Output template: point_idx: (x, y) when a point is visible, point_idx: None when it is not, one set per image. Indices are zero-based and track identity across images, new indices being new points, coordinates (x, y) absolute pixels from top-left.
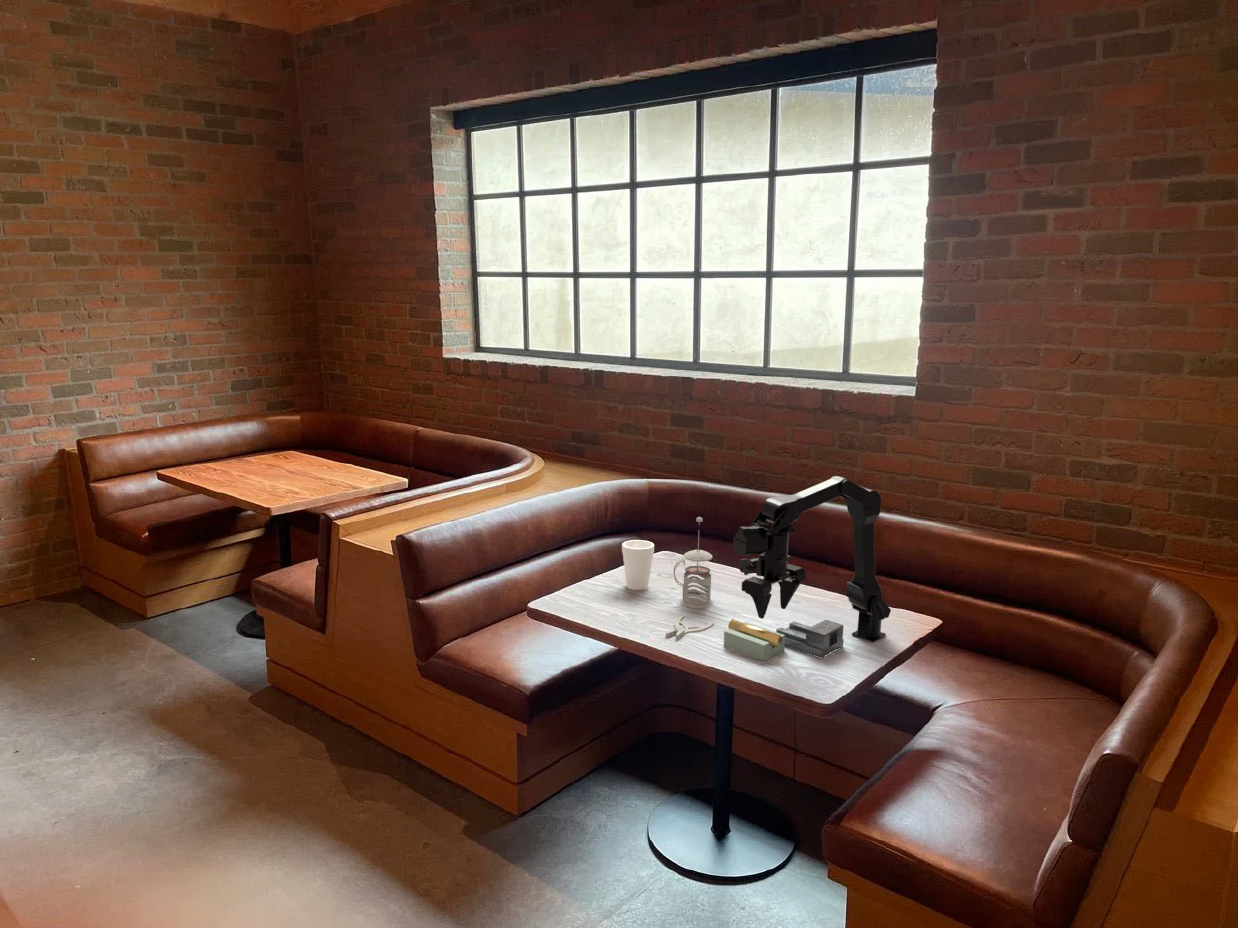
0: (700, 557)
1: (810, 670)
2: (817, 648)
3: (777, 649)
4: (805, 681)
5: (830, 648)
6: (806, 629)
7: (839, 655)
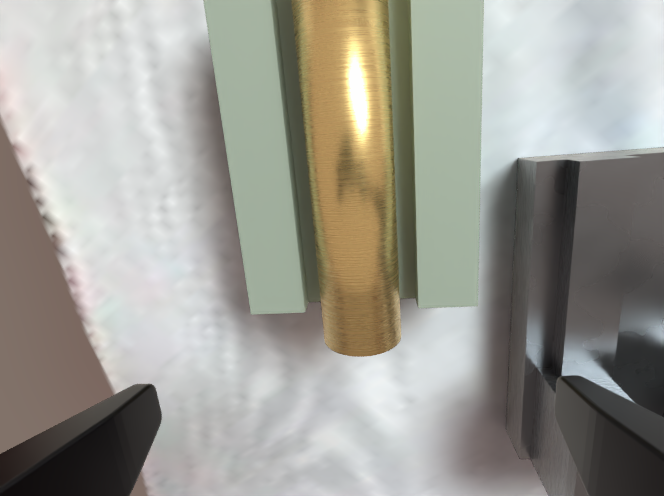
0: None
1: (360, 455)
2: (527, 433)
3: None
4: (264, 488)
5: None
6: None
7: None
